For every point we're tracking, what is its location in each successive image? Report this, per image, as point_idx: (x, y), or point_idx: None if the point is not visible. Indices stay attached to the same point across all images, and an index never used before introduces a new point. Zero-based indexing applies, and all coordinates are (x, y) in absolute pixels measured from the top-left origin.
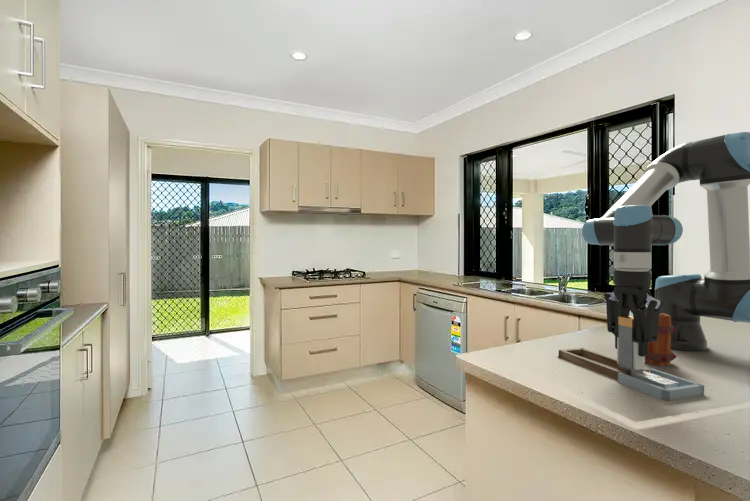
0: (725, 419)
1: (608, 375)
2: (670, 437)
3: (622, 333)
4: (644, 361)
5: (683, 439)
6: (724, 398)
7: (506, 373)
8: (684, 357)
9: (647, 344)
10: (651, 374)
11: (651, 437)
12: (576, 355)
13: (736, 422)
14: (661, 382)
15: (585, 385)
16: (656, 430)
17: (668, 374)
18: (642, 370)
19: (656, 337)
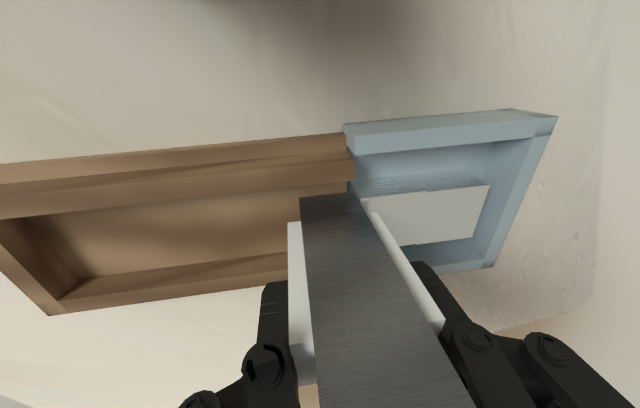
0: (570, 184)
1: None
2: (515, 311)
3: None
4: (388, 232)
5: (528, 302)
6: (557, 14)
7: None
8: None
9: (467, 319)
10: (401, 205)
11: (498, 328)
12: (134, 295)
13: (589, 176)
14: (458, 233)
15: None
16: (495, 314)
17: (430, 140)
18: (360, 203)
19: (584, 372)
